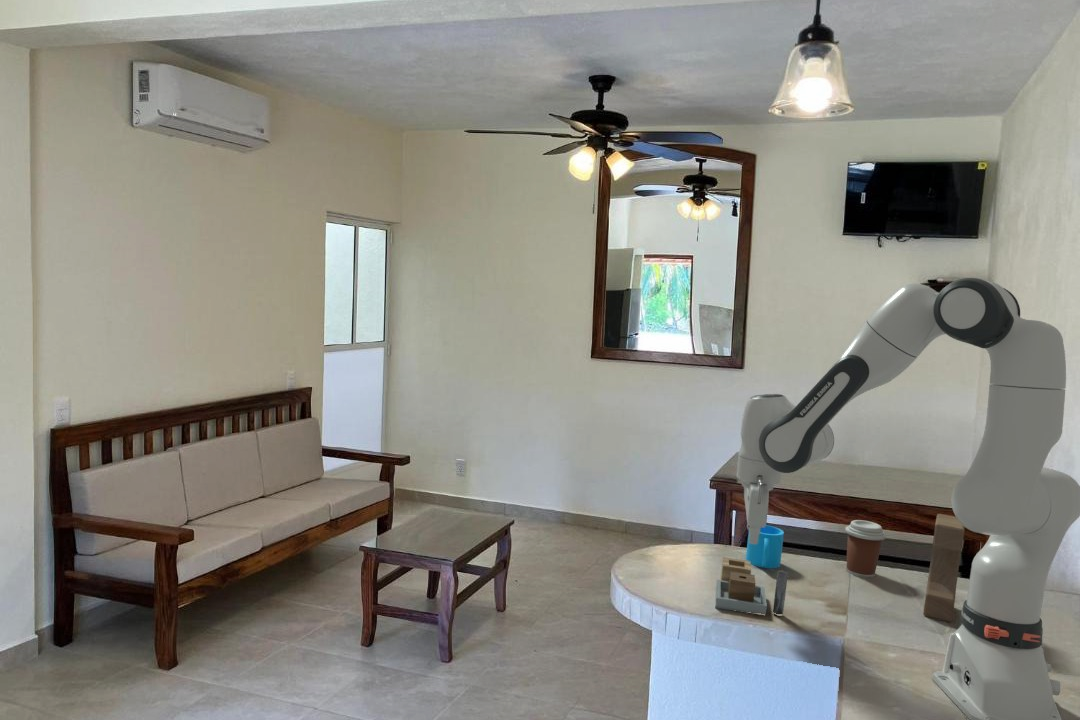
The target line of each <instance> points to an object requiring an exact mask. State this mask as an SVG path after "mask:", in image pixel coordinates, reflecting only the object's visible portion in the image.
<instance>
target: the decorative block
mask: <svg viewBox="0 0 1080 720" xmlns="http://www.w3.org/2000/svg"><path fill="white" fill-rule="evenodd" d="M965 528H966V527H964V526H963V525H962V524H961V523H960V522H959V521H958V519H957V518H956V516H954V515H948V514H943V513H937V514H936V518H935V524H934V531H933V538H932V539H933V540H932V547H931V554H930V563H929V564H930V565H929V570H928V571H929V572H928V577H927V584H926V591H925V596H924V597H925V599H924V605H923V613H922V614H923V616H924V617H925V618H926V617H927V618H932V619H936V620H939V621H944V622H947V623H951V622H952V621H953V617H954V610H955V602H956V591H957V586H958V585H957V583H958V575H959V568H960V561H961V555H962V551H963V544H964V537H965Z"/></svg>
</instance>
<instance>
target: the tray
mask: <svg viewBox="0 0 1080 720" xmlns="http://www.w3.org/2000/svg"><path fill="white" fill-rule="evenodd" d="M728 590H729V581H723V580H721V579H717V580H716V586H715V605H714V607H715V609H717V610H718V609H719V610H723V609H726V610H725V611H729V610H736V611H743V612H751V613H761V614H766V615H767V607H768V603H767V596H766V590H765V586H761V585H755V592H754V601H753V602H748V601H742V600H735V599H729V598H728Z"/></svg>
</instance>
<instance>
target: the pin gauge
mask: <svg viewBox="0 0 1080 720" xmlns="http://www.w3.org/2000/svg"><path fill="white" fill-rule="evenodd" d="M788 574H789V572H787V571H786V570H782V569H781V570H779V569H778V571H777V574H776V582H775V592H774V599H773V610H772V613H773V612H774V613H776V614H783V615H784V609H785V601H786V592H787V591H786V590H787V582H788Z"/></svg>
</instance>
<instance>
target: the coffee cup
mask: <svg viewBox="0 0 1080 720" xmlns="http://www.w3.org/2000/svg"><path fill="white" fill-rule="evenodd" d="M844 529H845V530H844V531H845V532H846V534H847V544H846V546H847V547H846V549H847V550H846V568H845V569H846V572H847V573H849V574H850V575H853V576H856V577H860V578H866V579H867V578H874V577H875V575H876V569H877V565H878V560H879V556H880V551H881V549H882V543H883V541H884V540H885V539H887V537H886V536H887V535H886V533H885V532H884V530H883V527H882V526H881V525H880V524H878V523H877V522H874V521H869V520H863V519H862V520H861V519H855V520H851V522H850V524H849V525H847V526H845V528H844Z"/></svg>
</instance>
